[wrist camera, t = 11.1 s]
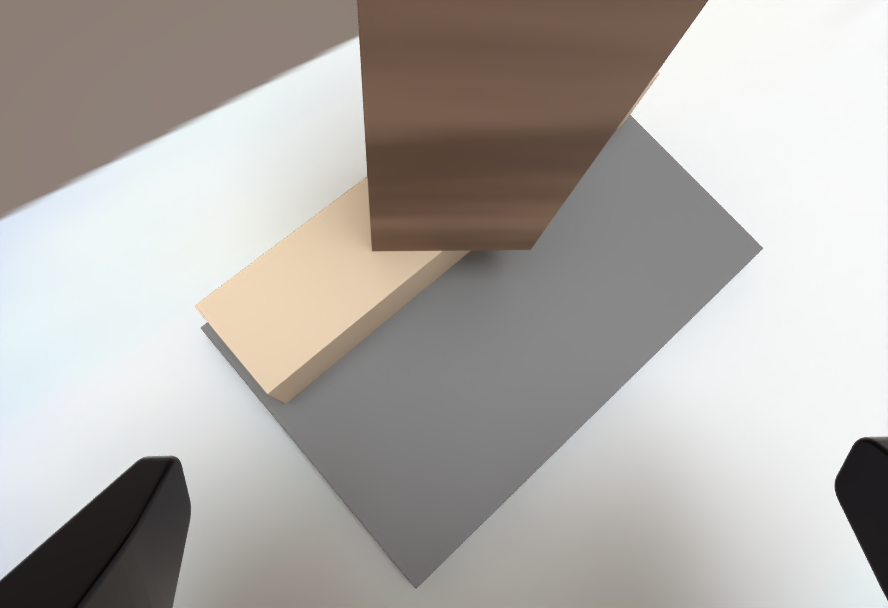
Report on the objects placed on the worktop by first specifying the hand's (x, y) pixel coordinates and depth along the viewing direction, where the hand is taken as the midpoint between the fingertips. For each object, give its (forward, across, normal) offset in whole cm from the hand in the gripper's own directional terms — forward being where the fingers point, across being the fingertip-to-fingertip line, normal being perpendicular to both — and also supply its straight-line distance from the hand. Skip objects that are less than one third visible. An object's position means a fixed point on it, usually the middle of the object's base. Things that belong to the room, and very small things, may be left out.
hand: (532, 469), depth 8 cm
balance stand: (+12, -2, +4) cm, 13 cm away
